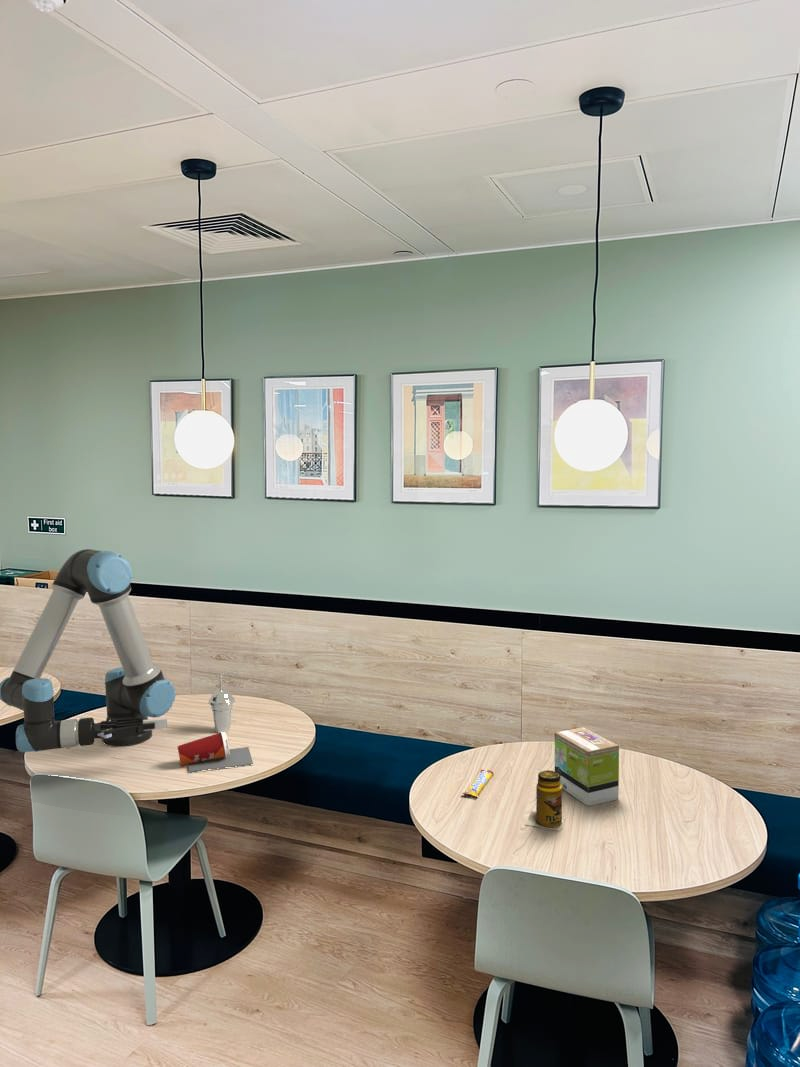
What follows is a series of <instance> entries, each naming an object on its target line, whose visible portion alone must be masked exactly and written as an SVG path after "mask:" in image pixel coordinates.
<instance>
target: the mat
mask: <svg viewBox="0 0 800 1067" xmlns="http://www.w3.org/2000/svg"><path fill="white" fill-rule="evenodd" d="M229 751H230V755H228V756H226V758H225V757H221V758H216V759H211V760H206V761H201V762H196V763H191V764H187V766H188V774H193V773H192V772H195V773H198V772H197V771H202V770H208V769H217V768H225V767H234V768H236V767H235V766H242V767H246V766H245V765H250V766H252V765H251V764H253V765H254V762H253V758H252V755H251V752H250V748H249V746H246V747H236V748H229Z"/></svg>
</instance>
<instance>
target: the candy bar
mask: <svg viewBox="0 0 800 1067" xmlns="http://www.w3.org/2000/svg"><path fill="white" fill-rule="evenodd" d="M493 776H494V772H493V771H492V770H489V769H488V770H485V769H480V771H479V774H478V775H477V777H476V778H475V779H474V781H473V782H472V783H471V784H470V785H469V787H468V788H466V790H465V792H462V794H463V795H470V796H472V797H477V798H478V797H479V795H480V794H481V792H482V791H483V790H484V788H485V787H486V786H487V784H488V783H489V781H490V780H491V779H492V778H493Z"/></svg>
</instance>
